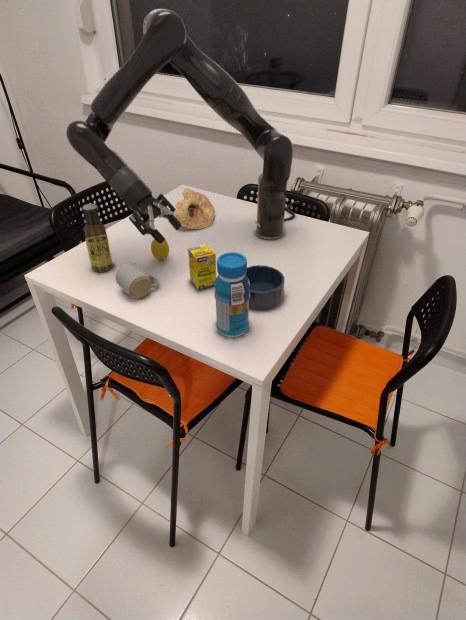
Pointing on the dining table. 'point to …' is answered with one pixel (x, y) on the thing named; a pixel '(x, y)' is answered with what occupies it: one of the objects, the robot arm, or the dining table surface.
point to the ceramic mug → (135, 280)
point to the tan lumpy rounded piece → (194, 210)
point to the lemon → (159, 249)
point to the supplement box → (202, 267)
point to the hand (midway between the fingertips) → (171, 234)
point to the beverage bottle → (232, 294)
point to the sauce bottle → (96, 239)
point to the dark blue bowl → (265, 287)
